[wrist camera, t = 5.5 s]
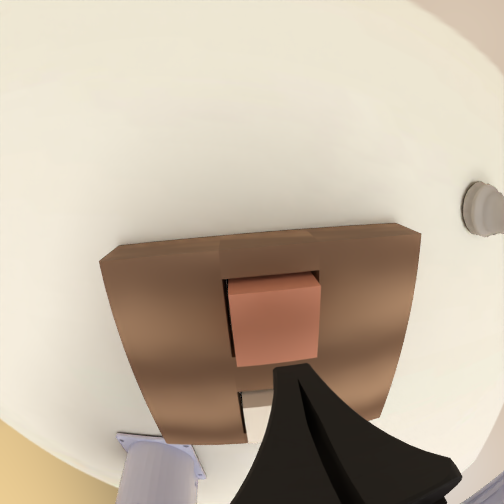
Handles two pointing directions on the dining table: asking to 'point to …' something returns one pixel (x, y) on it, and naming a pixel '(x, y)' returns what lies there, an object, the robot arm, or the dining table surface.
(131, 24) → the dining table surface
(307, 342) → the terracotta key
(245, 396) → the ivory key
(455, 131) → the dining table surface
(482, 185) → the rook chess piece
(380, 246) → the key panel
